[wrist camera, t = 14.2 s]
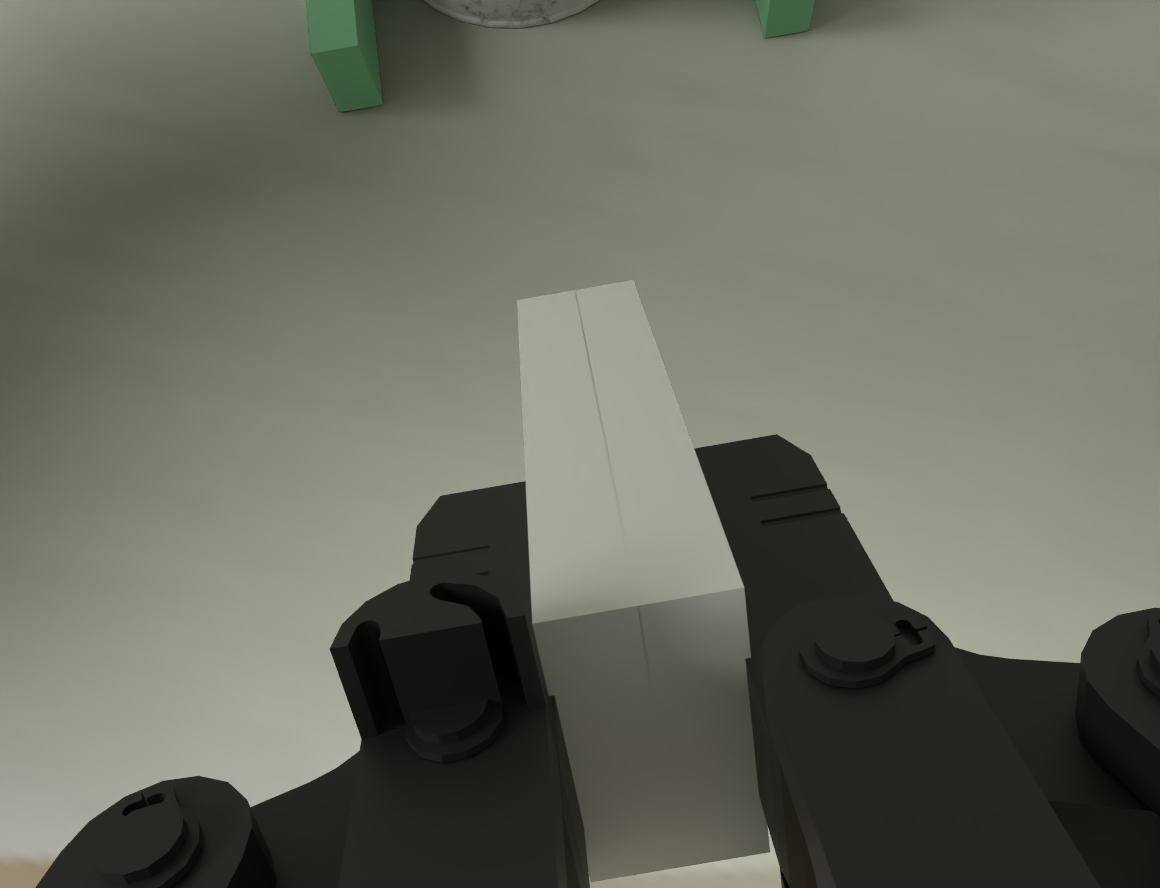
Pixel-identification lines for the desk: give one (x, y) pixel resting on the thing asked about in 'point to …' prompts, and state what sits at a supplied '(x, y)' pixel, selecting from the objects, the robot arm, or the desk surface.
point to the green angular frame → (352, 52)
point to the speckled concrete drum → (510, 11)
